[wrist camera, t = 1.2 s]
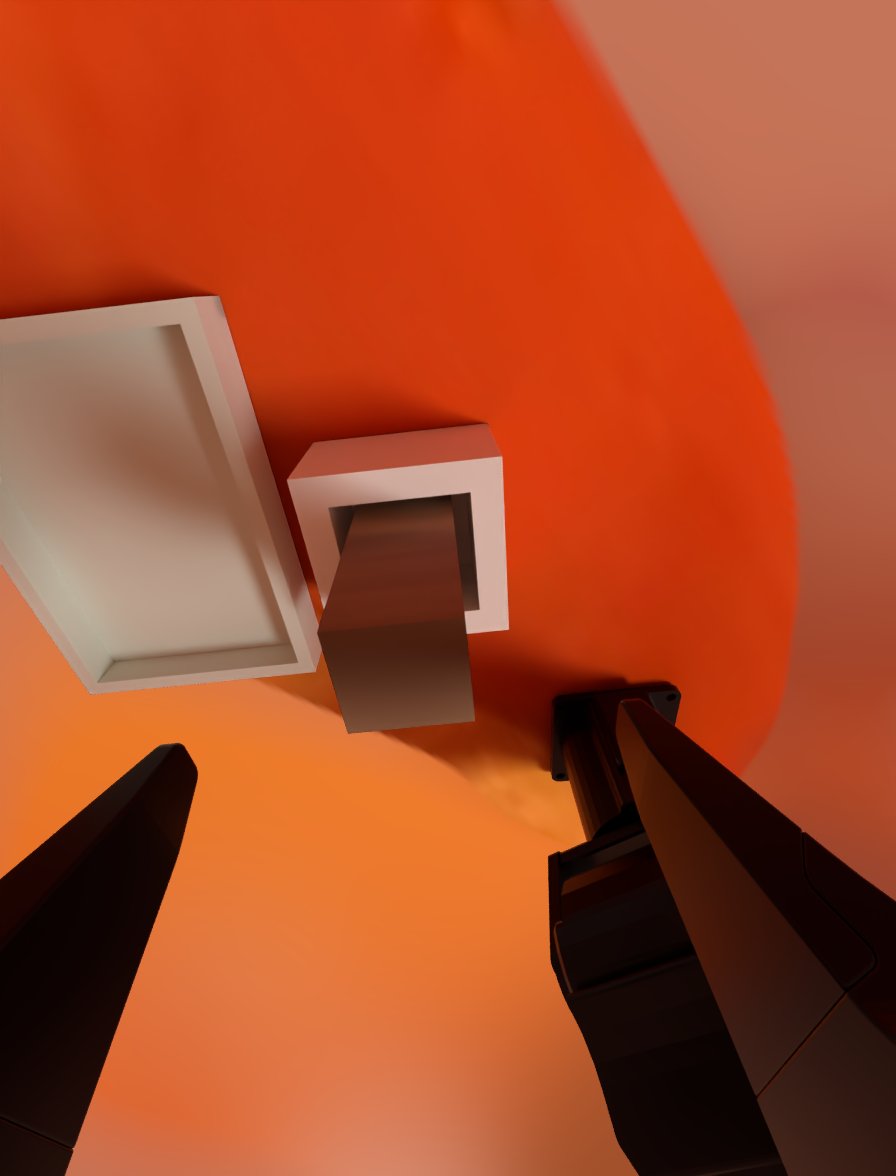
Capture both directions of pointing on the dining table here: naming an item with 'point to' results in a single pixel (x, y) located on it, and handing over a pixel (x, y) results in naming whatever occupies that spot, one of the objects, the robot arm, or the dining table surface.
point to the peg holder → (409, 471)
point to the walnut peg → (399, 619)
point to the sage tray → (146, 500)
